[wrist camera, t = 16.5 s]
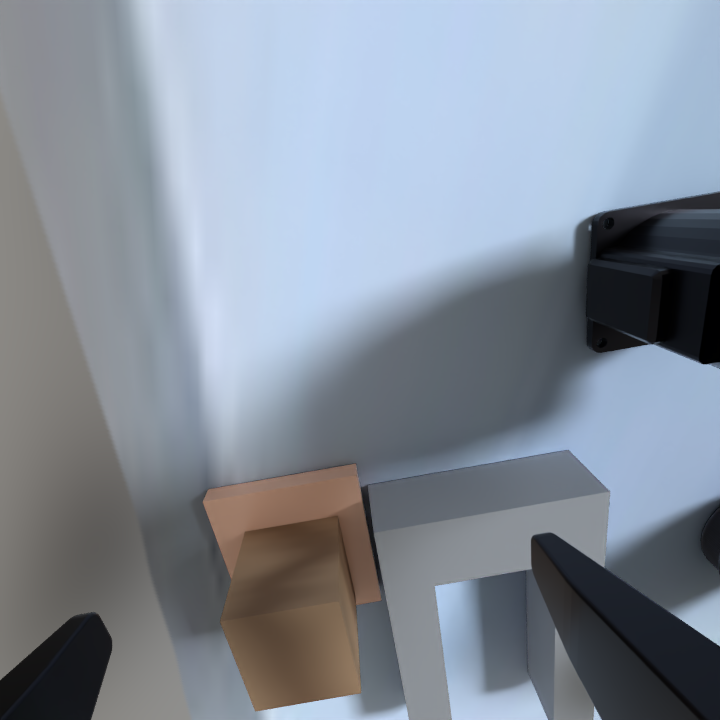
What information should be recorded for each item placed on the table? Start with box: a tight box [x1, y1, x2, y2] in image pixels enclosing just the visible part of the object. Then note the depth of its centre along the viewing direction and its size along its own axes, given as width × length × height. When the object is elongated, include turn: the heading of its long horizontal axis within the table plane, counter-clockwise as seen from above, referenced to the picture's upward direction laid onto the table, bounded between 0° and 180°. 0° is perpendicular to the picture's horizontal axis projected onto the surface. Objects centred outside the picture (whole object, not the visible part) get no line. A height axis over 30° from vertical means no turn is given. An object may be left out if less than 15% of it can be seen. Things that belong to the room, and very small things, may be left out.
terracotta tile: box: [203, 464, 382, 605], centre depth 22 cm, size 8×9×1 cm
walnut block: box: [220, 516, 361, 711], centre depth 20 cm, size 5×6×5 cm
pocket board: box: [368, 450, 610, 720], centre depth 23 cm, size 11×18×4 cm, turn 9°
